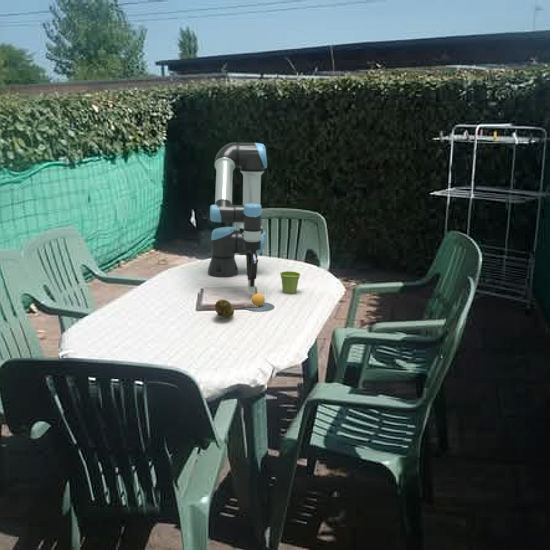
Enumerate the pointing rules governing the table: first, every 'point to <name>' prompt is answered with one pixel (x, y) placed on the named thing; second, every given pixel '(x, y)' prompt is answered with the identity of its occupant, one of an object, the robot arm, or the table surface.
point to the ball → (258, 299)
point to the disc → (262, 308)
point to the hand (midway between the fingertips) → (251, 293)
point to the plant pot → (289, 281)
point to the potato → (224, 308)
